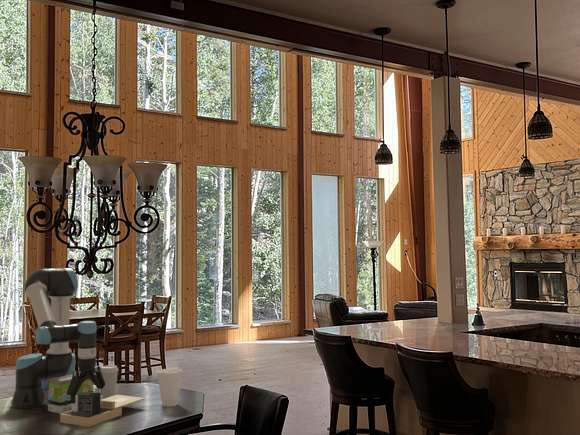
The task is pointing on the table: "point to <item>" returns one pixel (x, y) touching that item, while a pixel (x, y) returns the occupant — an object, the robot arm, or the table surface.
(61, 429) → the table surface
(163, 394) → the cup
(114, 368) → the coffee cup
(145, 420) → the table surface
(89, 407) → the small box
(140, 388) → the table surface
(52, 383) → the tea box
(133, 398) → the lid
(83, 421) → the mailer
